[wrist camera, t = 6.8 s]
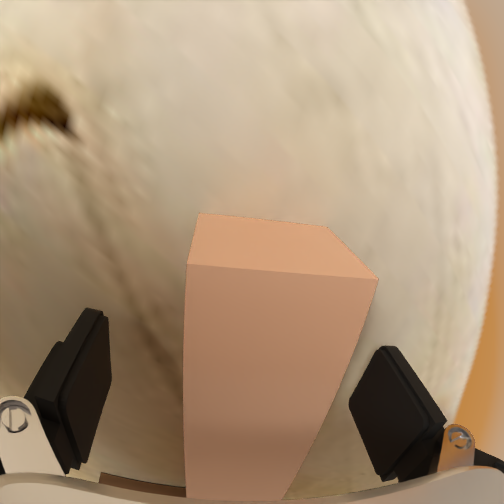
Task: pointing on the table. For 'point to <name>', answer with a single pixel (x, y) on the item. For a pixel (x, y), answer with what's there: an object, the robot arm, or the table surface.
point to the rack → (141, 486)
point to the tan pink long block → (263, 349)
